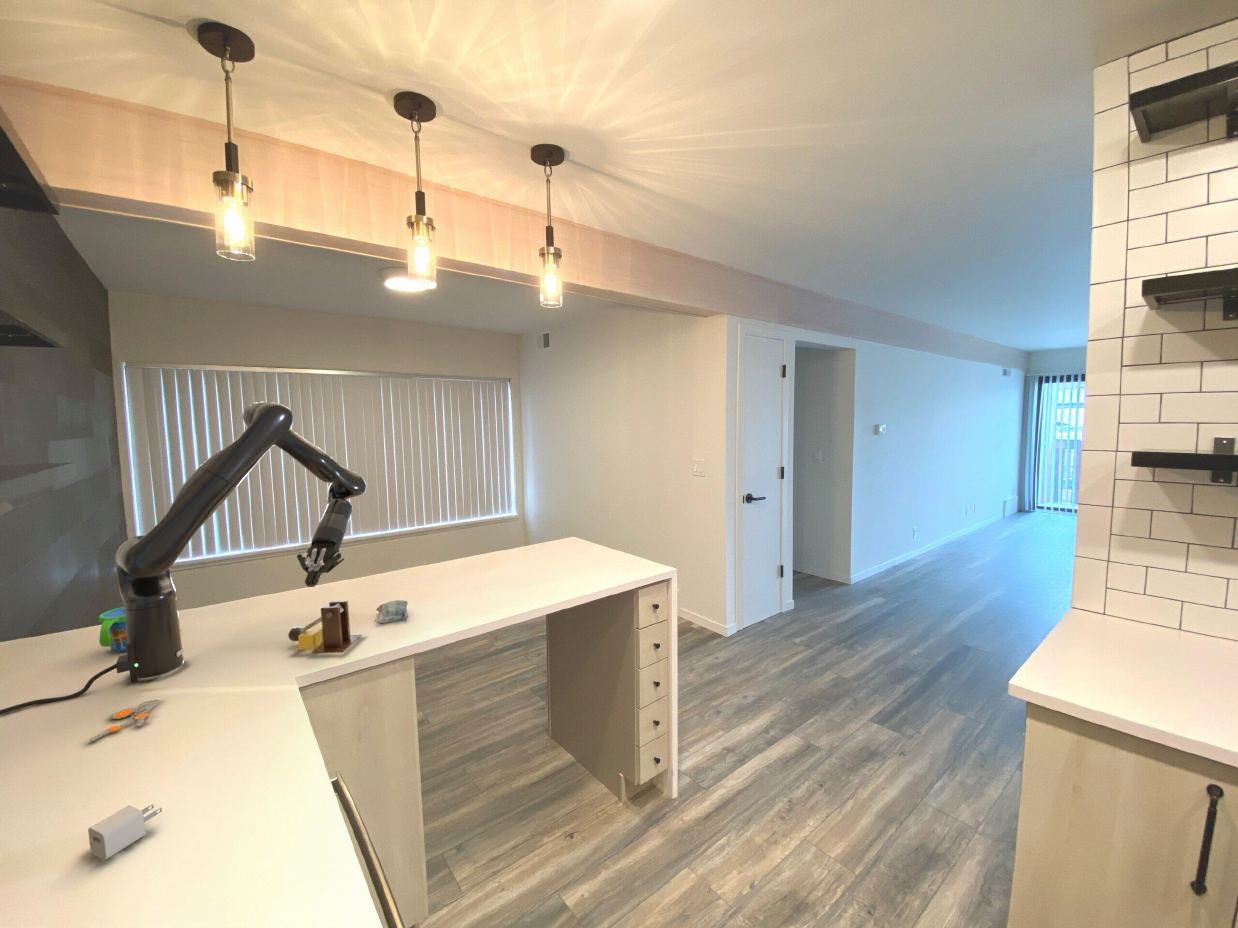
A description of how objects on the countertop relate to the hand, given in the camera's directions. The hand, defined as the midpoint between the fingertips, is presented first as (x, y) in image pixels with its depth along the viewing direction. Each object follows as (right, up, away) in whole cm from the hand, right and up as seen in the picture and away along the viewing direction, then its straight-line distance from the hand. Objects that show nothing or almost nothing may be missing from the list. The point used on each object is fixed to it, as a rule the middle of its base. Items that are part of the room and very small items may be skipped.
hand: (309, 585), depth 139 cm
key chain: (-14, -18, -37) cm, 44 cm away
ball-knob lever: (+6, -10, -6) cm, 13 cm away
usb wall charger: (+14, -21, -66) cm, 70 cm away
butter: (+4, -15, -6) cm, 17 cm away
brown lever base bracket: (+11, -15, -6) cm, 19 cm away
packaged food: (+17, -13, +12) cm, 25 cm away
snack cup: (-46, -16, -3) cm, 49 cm away
